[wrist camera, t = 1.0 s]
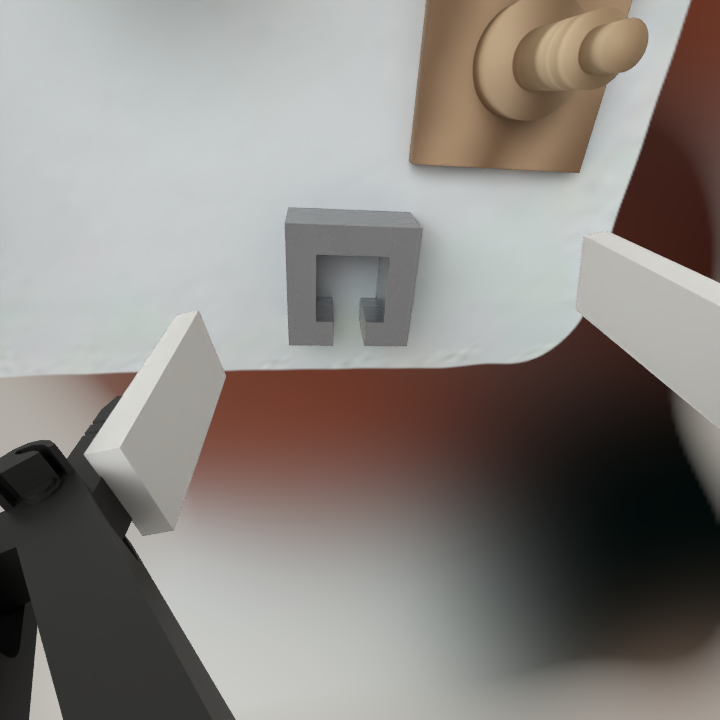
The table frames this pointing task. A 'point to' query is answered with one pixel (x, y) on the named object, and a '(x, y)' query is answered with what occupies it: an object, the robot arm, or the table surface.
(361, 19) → the table surface
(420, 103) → the post fixture
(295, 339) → the grey split frame
